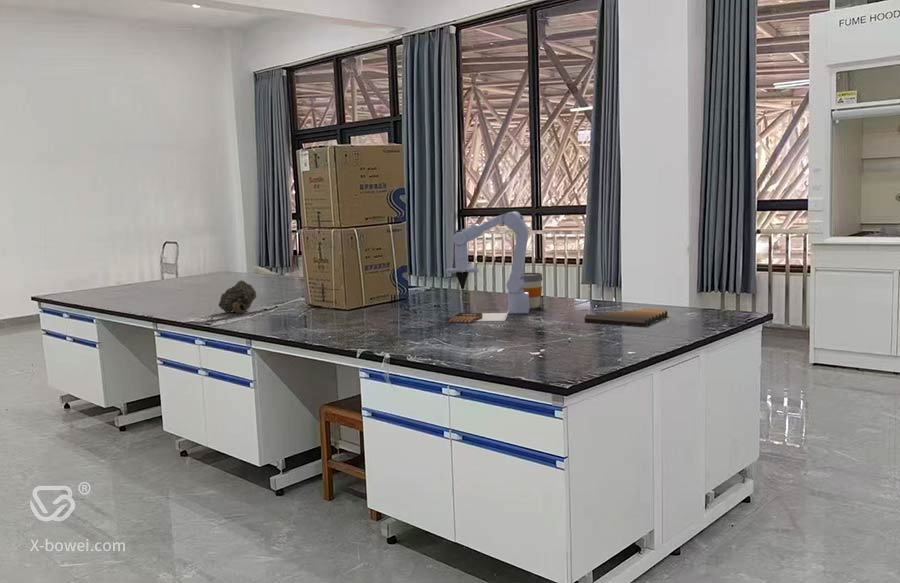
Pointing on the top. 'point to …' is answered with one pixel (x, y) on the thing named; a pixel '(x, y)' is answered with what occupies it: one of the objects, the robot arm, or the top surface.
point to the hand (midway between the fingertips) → (462, 288)
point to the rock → (238, 298)
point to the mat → (493, 317)
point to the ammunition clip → (466, 317)
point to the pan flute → (628, 317)
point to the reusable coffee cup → (533, 288)
